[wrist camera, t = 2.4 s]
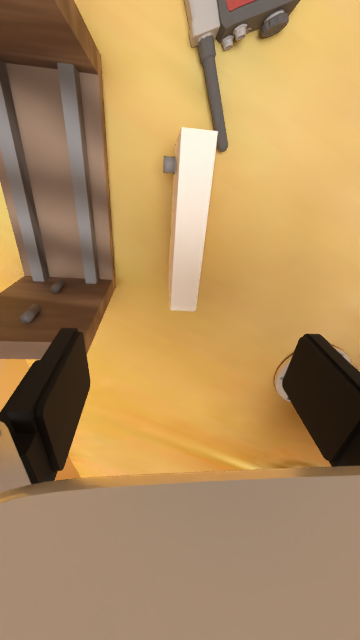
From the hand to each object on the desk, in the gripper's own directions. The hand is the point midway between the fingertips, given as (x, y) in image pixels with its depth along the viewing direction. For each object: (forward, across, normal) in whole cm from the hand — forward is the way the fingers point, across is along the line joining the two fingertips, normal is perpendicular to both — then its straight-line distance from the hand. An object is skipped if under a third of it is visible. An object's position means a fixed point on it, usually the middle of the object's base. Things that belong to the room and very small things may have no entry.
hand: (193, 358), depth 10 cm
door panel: (+21, -1, -3) cm, 21 cm away
